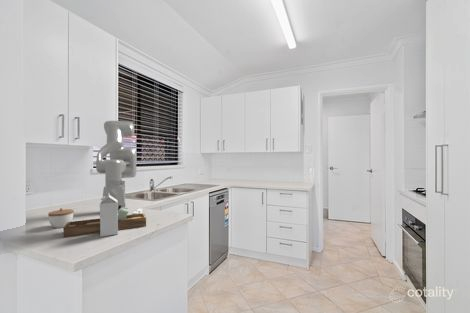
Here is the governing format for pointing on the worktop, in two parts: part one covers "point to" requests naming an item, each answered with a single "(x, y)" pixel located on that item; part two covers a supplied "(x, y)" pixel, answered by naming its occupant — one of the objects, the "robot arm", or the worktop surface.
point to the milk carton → (108, 216)
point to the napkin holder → (137, 211)
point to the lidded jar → (60, 217)
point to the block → (122, 214)
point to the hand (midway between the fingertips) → (114, 218)
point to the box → (94, 225)
